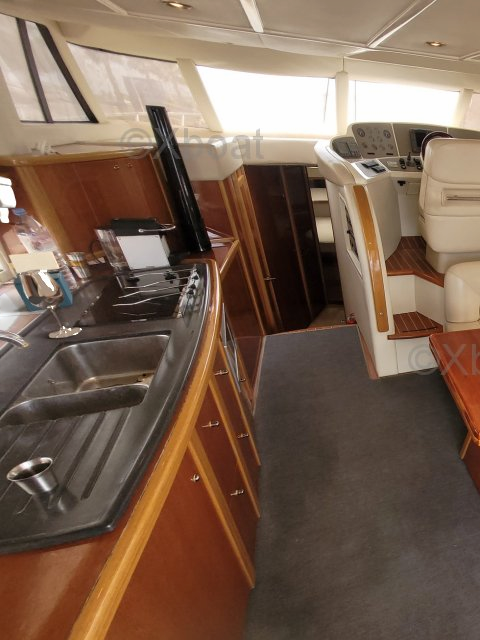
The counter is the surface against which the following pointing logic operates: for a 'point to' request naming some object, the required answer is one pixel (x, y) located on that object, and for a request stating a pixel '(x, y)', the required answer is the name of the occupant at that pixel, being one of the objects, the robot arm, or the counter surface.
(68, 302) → the tote
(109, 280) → the counter surface
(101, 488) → the counter surface
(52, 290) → the wineglass
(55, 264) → the flap
